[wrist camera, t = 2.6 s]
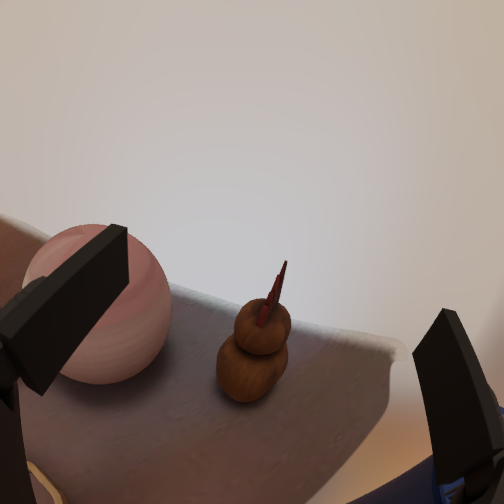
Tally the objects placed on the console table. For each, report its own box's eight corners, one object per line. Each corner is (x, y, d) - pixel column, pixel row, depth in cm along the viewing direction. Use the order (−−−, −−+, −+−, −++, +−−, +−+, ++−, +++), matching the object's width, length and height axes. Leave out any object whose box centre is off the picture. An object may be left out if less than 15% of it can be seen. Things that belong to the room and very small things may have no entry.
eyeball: (33, 330, 28) (1, 218, 20) (134, 295, 38) (131, 189, 30) (73, 434, 20) (9, 323, 12) (198, 375, 30) (212, 257, 22)
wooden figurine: (247, 355, 33) (278, 243, 26) (284, 386, 30) (333, 277, 23) (202, 383, 29) (217, 265, 21) (240, 421, 26) (278, 312, 18)
